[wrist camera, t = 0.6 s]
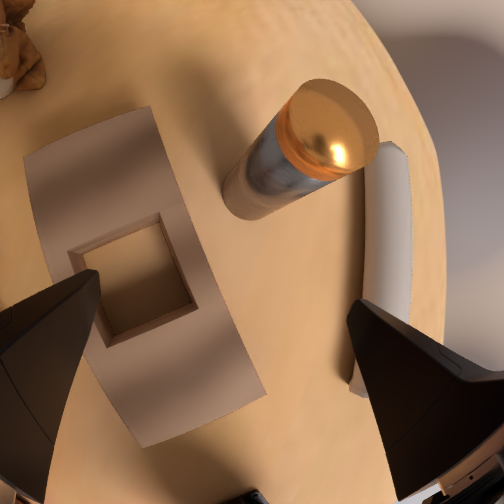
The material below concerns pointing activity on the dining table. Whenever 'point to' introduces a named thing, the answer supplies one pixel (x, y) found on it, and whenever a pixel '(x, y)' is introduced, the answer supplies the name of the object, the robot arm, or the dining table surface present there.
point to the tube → (387, 239)
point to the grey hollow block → (187, 262)
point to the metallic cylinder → (302, 150)
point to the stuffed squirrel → (18, 50)
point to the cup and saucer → (17, 501)
